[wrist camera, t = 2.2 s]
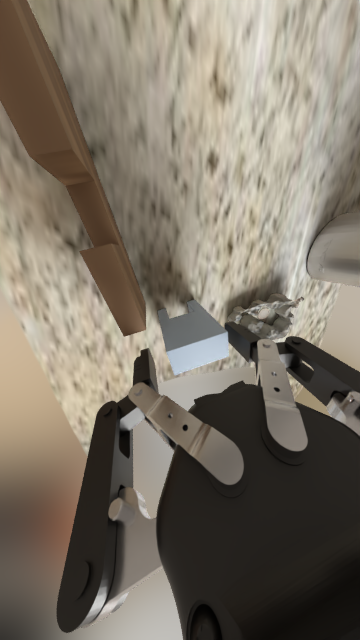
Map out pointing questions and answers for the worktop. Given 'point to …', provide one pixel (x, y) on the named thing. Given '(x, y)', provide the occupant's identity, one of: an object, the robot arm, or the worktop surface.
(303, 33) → the worktop surface
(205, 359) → the notched block
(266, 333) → the egg carton
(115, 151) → the worktop surface
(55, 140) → the slotted plate
